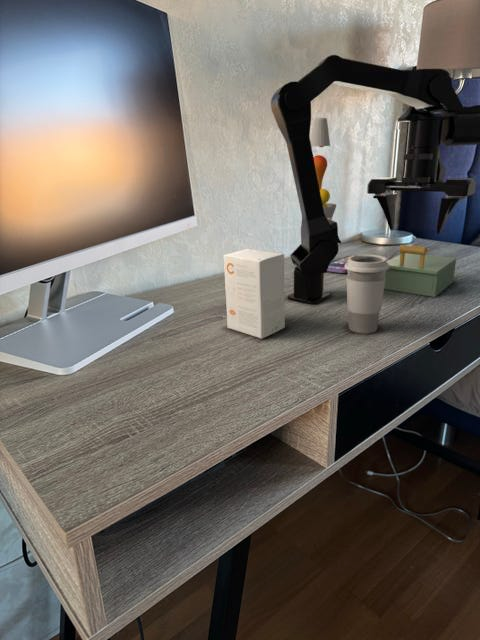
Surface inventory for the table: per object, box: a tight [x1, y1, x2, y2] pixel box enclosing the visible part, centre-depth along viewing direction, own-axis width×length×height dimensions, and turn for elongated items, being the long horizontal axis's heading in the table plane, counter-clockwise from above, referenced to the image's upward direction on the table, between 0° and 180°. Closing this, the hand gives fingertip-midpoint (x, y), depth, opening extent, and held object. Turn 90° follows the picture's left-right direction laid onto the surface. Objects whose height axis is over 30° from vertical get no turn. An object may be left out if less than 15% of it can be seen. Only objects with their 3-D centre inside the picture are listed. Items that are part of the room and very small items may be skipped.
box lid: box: [387, 244, 457, 275], centre depth 93 cm, size 13×11×5 cm
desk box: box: [384, 260, 457, 298], centre depth 95 cm, size 12×11×5 cm
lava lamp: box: [310, 117, 337, 263], centre depth 111 cm, size 9×9×35 cm
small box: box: [223, 248, 286, 339], centre depth 74 cm, size 8×6×13 cm
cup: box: [345, 253, 389, 335], centre depth 73 cm, size 7×7×12 cm
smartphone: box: [327, 255, 352, 274], centre depth 113 cm, size 1×7×15 cm
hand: (414, 231), depth 88 cm, fingers open, 9 cm apart
